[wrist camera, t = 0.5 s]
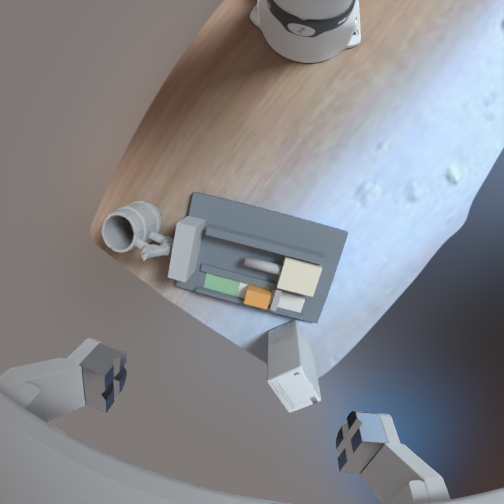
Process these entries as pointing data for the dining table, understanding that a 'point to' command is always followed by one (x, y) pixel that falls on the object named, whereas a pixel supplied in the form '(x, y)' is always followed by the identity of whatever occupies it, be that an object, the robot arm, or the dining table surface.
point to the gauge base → (251, 253)
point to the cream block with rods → (289, 276)
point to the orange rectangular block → (257, 296)
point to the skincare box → (292, 367)
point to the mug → (136, 230)
